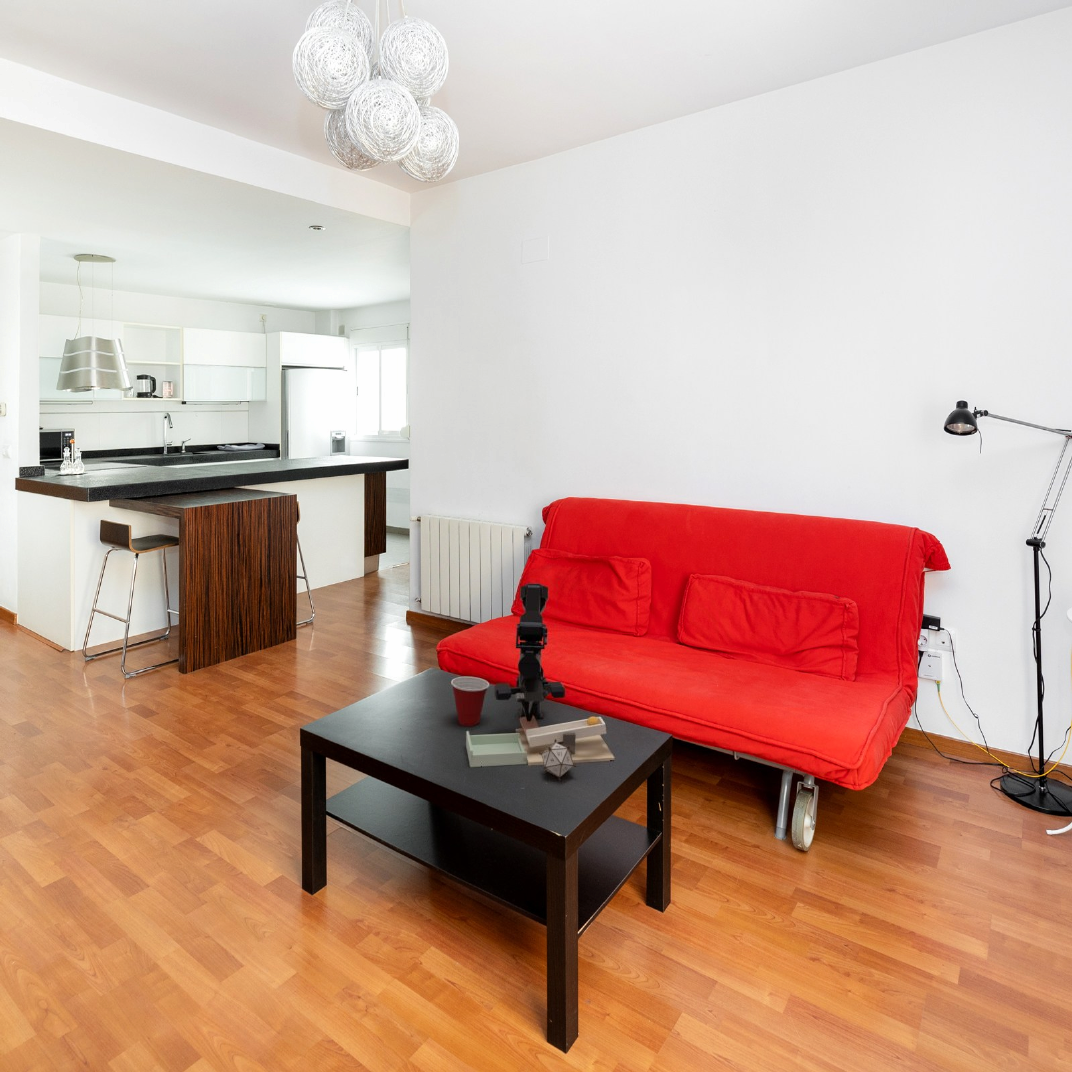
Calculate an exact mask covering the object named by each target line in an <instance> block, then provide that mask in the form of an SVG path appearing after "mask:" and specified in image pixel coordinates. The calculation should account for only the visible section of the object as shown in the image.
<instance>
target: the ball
mask: <svg viewBox="0 0 1072 1072" xmlns="http://www.w3.org/2000/svg"><path fill="white" fill-rule="evenodd" d="M596 717H597V716H590V717H588V718H587V719H588V720H587V724H588V726H592V725H597V724H599V721H598V719H597V718H596Z"/></svg>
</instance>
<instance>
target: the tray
mask: <svg viewBox="0 0 1072 1072" xmlns="http://www.w3.org/2000/svg"><path fill="white" fill-rule="evenodd" d="M465 733H466V735H465V739H466V740H465V741H466V742H465V746H466V747H465V748H466V753H467V757H468V762H469V767H470V768H478V767H479V768H480V767H481V766H482V767H493V766H494V767H495V766H511V765H513V766H515V765H528V763H527V752H526V751H524V748H523V746H522V743H521V740H520V733H516V732H513V733H512V732H511V733H493V734H475V735H474V734H473V735H471V734H470V730H467V731H466V732H465ZM482 767H481V768H482Z"/></svg>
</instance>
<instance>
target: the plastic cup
mask: <svg viewBox="0 0 1072 1072" xmlns="http://www.w3.org/2000/svg"><path fill="white" fill-rule="evenodd" d="M450 684H451V686H452V690H453V695H454V702H455V708H456V709H455V710H456V714H457V719H458V720H457V721H458V723H459V725H461V726H463V727H473V726H476V725H478V724H480V720H481V715H482V711H483V706H484V702H485V696H486V693H487V690H488V688H489V687H490V683H489V682H488V680H486V679H483V678H480V677H475V676H459V677H455V678H453V679H452V680H451V683H450Z"/></svg>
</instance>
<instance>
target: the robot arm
mask: <svg viewBox="0 0 1072 1072" xmlns="http://www.w3.org/2000/svg"><path fill="white" fill-rule="evenodd" d="M519 590H520V593H519V600H520V601H522V608H523V610H524V613H523V614H522V615H520V616H519V623H517V624H516V636H515V637H516V639H515V649H518V650H519V658H518V663H517V670H518V672H519V674H518V676H517V675H516V684H515V685H516V686H513V687H512V686H511V685H510V683H509V682H507V683H503V682H502V683H501V682H500V683H495V684H494V686H493V687H494V688H493V694H494V697H495V700H497V701H508V700H510V699H511V698H512V695H513V696H514V697H515V699H516V702H518V703H520V709H518V711H517V712H518V715H519V718H522V717H526V719H527V722H528V721H531V719H532V717H533V716H534V717H535V719H536V720H537V719H538V720H543V719H544V715H543V713H542V708H541V706H542V705H541V704H542V702H544V701H545V699H546V698H547V697H548V696H549V695H550V696H551V697H552V698H553V699H564V698H566V688H565V686H564V684H563V683H562V682H561V681H548V680H547V678H546V676H544V675H545V674H544V672H545V671H544V669H543V666H542V650H545V648H546V646H547V645H548V628H547V625H546V624H544V617H543V615H542V613H544V611H545V610H546V608H547V607H546V605H547V602H548V601H549V587H547V586H545V585H543V584H541V583H537V582H536V583H535V582H534V583H533V582H531V583H530V582H527V583H525V584H524V585H521V586H520V588H519Z"/></svg>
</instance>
